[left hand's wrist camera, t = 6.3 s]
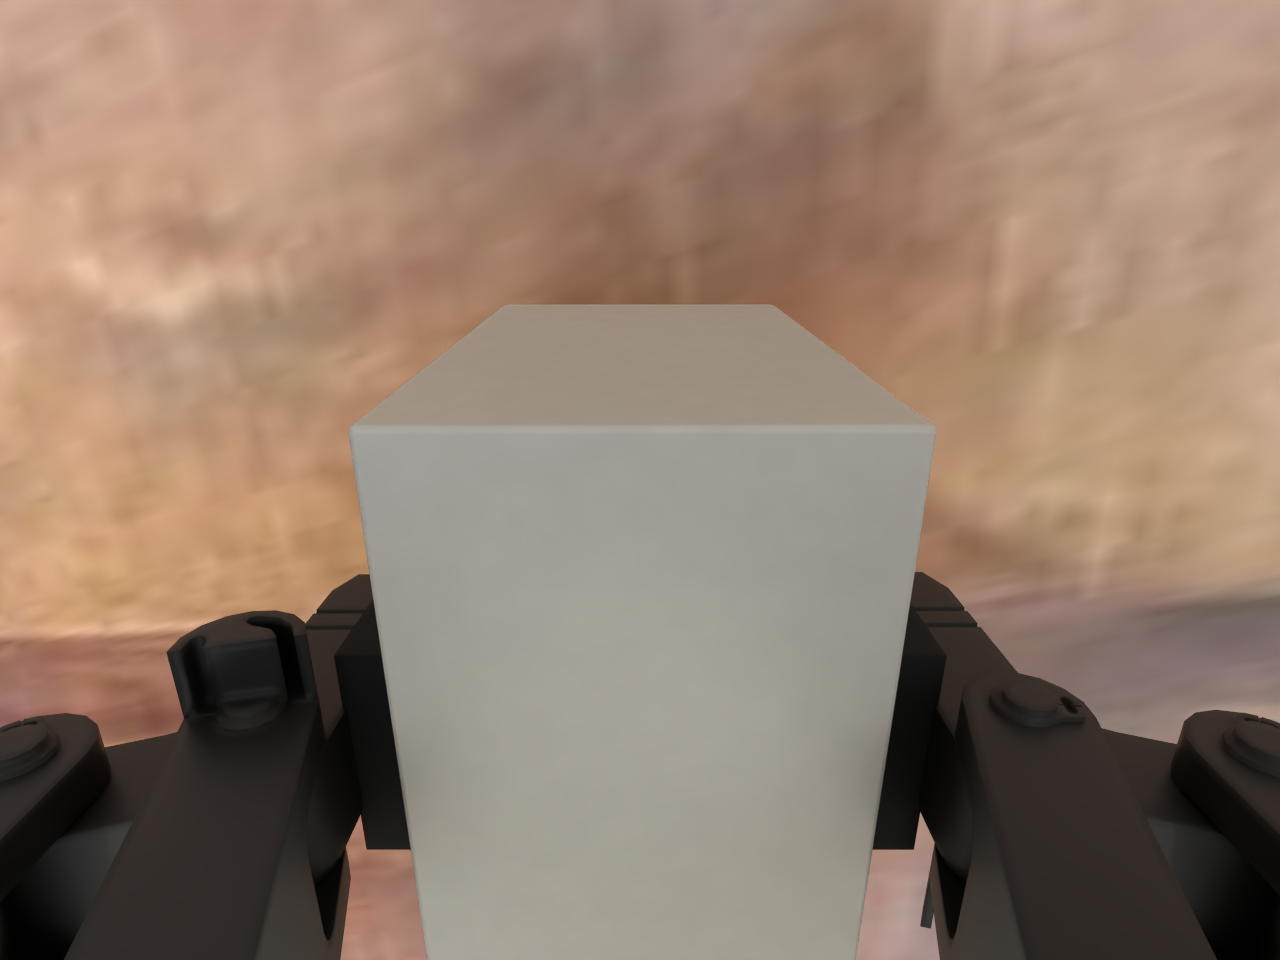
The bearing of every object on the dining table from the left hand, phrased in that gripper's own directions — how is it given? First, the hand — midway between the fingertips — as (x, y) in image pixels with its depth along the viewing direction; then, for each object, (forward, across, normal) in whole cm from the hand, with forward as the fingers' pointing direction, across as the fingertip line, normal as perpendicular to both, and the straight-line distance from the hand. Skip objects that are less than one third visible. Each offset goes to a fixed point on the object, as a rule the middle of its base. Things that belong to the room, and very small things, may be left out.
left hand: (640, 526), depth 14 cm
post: (+1, 0, -34) cm, 34 cm away
